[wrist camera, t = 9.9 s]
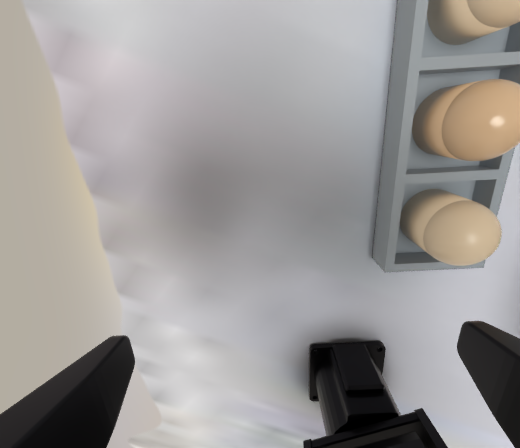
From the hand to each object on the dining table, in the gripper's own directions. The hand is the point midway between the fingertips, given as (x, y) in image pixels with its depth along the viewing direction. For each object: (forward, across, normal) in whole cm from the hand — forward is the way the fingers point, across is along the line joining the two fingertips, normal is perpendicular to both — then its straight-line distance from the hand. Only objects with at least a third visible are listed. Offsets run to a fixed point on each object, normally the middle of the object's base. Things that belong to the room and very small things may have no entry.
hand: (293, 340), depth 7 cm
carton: (+13, -11, -5) cm, 18 cm away
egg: (+12, -11, -5) cm, 17 cm away
